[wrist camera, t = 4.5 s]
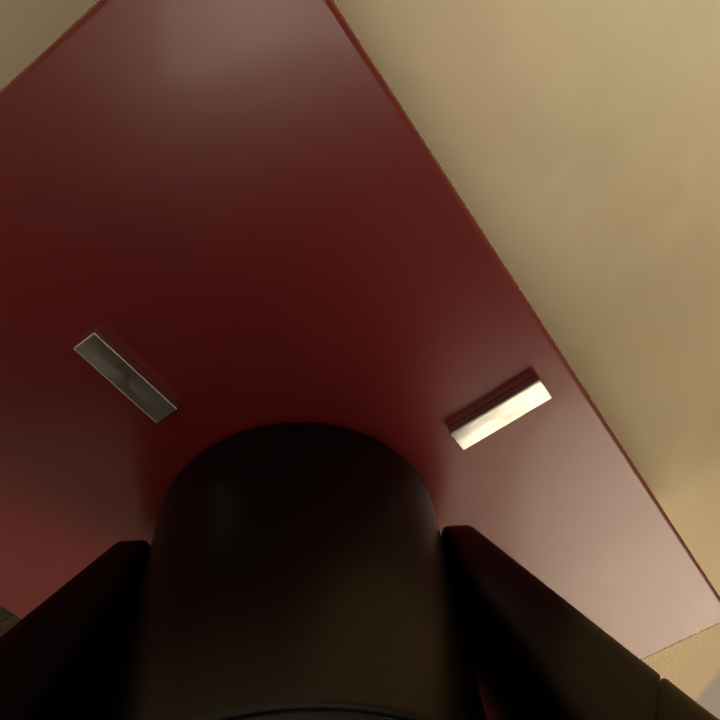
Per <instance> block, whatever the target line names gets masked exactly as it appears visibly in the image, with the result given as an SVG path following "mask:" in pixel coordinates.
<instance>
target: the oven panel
mask: <svg viewBox="0 0 720 720" xmlns="http://www.w3.org/2000/svg"><path fill="white" fill-rule="evenodd" d="M289 422H313V423H323V424H330V425H336V426H340V427H344V428H348V429H352V430H355V431H357V432H360V433H363V434H365V435H368V436H370V437H372V438H374V439H376V440H378V441H380V442H382V443H384V444H385V445H387V446H388V447H390V448H391V449H393V450H394V451H395V452H397V453H398V454H400V455H401V456H402V457H403V458H404V459H405V460H406V461H407V462H408V463H409V464H410V465H411V466H412V467H413V468H414V469H415V471H416V472H417V473H418V474H419V476H420V477H421V478H422V480H423V482H424V484H425V485H426V487H427V489H428V491H429V494H430V497H431V499H432V502H433V506H434V510H435V514H436V518H437V522H438V526H439V530H440V534H441V533H442V530H443V528H444V527H446V526H458V525H470V526H472V527H473V528H475V529H476V530H477V531H479V532H480V533H481V534H482V535H484V536H485V537H486V538H488V539H489V540H490V541H491V542H493V543H494V544H495V545H496V546H498V547H499V548H500V549H501V550H503V551H504V552H505V553H506V554H508V555H509V556H510V557H512V558H513V559H514V560H515V561H517V562H518V563H519V564H520V565H522V566H523V567H524V568H525V569H527V570H528V571H529V572H530V573H532V574H533V575H534V576H536V577H537V578H538V579H539V580H541V581H542V582H543V583H544V584H546V585H547V586H548V587H549V588H551V589H552V590H553V591H555V592H556V593H557V594H558V595H560V596H561V597H562V598H563V599H565V600H566V601H567V602H568V603H570V604H571V605H572V606H573V607H575V608H576V609H577V610H579V611H580V612H581V613H582V614H584V615H585V616H586V617H587V618H589V619H590V620H591V621H592V622H594V623H595V624H596V625H597V626H599V627H600V628H601V629H603V630H604V631H605V632H606V633H608V634H609V635H610V636H611V637H613V638H614V639H615V640H616V641H618V642H619V643H620V644H621V645H623V646H624V647H625V648H627V649H628V650H629V651H630V652H632V653H633V654H634V655H635V656H637V657H638V658H639V659H640V660H642V659H644V658H646V657H648V656H650V655H652V654H654V653H656V652H659V651H661V650H663V649H665V648H667V647H669V646H671V645H674V644H676V643H678V642H680V641H682V640H684V639H686V638H689V637H691V636H693V635H695V634H697V633H699V632H701V631H703V630H706V629H708V628H710V627H712V626H714V625H716V624H718V623H720V597H719V595H718V594H717V592H716V591H715V589H714V588H713V586H712V585H711V583H710V581H709V580H708V578H707V577H706V575H705V574H704V572H703V571H702V569H701V568H700V566H699V565H698V563H697V561H696V560H695V558H694V557H693V555H692V554H691V552H690V551H689V549H688V548H687V546H686V545H685V543H684V541H683V540H682V538H681V537H680V535H679V534H678V532H677V531H676V529H675V528H674V526H673V524H672V523H671V521H670V520H669V518H668V517H667V515H666V514H665V512H664V511H663V509H662V508H661V506H660V504H659V503H658V501H657V500H656V498H655V497H654V495H653V494H652V492H651V491H650V489H649V488H648V486H647V484H646V483H645V481H644V480H643V478H642V477H641V475H640V474H639V472H638V471H637V469H636V467H635V466H634V464H633V463H632V461H631V460H630V458H629V457H628V455H627V454H626V452H625V451H624V449H623V447H622V446H621V444H620V443H619V441H618V440H617V438H616V437H615V435H614V434H613V432H612V431H611V429H610V427H609V426H608V424H607V423H606V421H605V420H604V418H603V417H602V415H601V414H600V412H599V411H598V409H597V407H596V406H595V404H594V403H593V401H592V400H591V398H590V397H589V395H588V394H587V392H586V390H585V389H584V387H583V386H582V384H581V383H580V381H579V380H578V378H577V377H576V375H575V374H574V372H573V370H572V369H571V367H570V366H569V364H568V363H567V361H566V360H565V358H564V357H563V355H562V354H561V352H560V350H559V349H558V347H557V346H556V344H555V343H554V341H553V340H552V338H551V337H550V335H549V333H548V332H547V330H546V329H545V327H544V326H543V324H542V323H541V321H540V320H539V318H538V317H537V315H536V313H535V312H534V310H533V309H532V307H531V306H530V304H529V303H528V301H527V300H526V298H525V297H524V295H523V293H522V292H521V290H520V289H519V287H518V286H517V284H516V283H515V281H514V280H513V278H512V276H511V275H510V273H509V272H508V270H507V269H506V267H505V266H504V264H503V263H502V261H501V260H500V258H499V256H498V255H497V253H496V252H495V250H494V249H493V247H492V246H491V244H490V243H489V241H488V240H487V238H486V236H485V235H484V233H483V232H482V230H481V229H480V227H479V226H478V224H477V223H476V221H475V220H474V218H473V216H472V215H471V213H470V212H469V210H468V209H467V207H466V206H465V204H464V203H463V201H462V199H461V198H460V196H459V195H458V193H457V192H456V190H455V189H454V187H453V186H452V184H451V183H450V181H449V179H448V178H447V176H446V175H445V173H444V172H443V170H442V169H441V167H440V166H439V164H438V163H437V161H436V159H435V158H434V156H433V155H432V153H431V152H430V150H429V149H428V147H427V146H426V144H425V142H424V141H423V139H422V138H421V136H420V135H419V133H418V132H417V130H416V129H415V127H414V126H413V124H412V122H411V121H410V119H409V118H408V116H407V115H406V113H405V112H404V110H403V109H402V107H401V106H400V104H399V102H398V101H397V99H396V98H395V96H394V95H393V93H392V92H391V90H390V89H389V87H388V85H387V84H386V82H385V81H384V79H383V78H382V76H381V75H380V73H379V72H378V70H377V69H376V67H375V65H374V64H373V62H372V61H371V59H370V58H369V56H368V55H367V53H366V52H365V50H364V49H363V47H362V45H361V44H360V42H359V41H358V39H357V38H356V36H355V35H354V33H353V32H352V30H351V29H350V27H349V25H348V24H347V22H346V21H345V19H344V18H343V16H342V15H341V13H340V12H339V10H338V8H337V7H336V5H335V4H334V2H333V1H332V0H99V1H98V2H97V3H96V4H95V5H94V6H93V7H91V8H90V9H89V10H88V11H87V12H86V13H85V14H84V15H83V16H82V17H81V18H80V19H78V20H77V21H76V22H75V23H74V24H73V25H72V26H71V27H70V28H69V29H68V30H67V31H65V32H64V33H63V34H62V35H61V36H60V37H59V38H58V39H57V40H56V41H55V42H53V43H52V44H51V45H50V46H49V47H48V48H47V49H46V50H45V51H44V52H43V53H42V54H40V55H39V56H38V57H37V58H36V59H35V60H34V61H33V62H32V63H31V64H30V65H29V66H27V67H26V68H25V69H24V70H23V71H22V72H21V73H20V74H19V75H18V76H17V77H16V78H14V79H13V80H12V81H11V82H10V83H9V84H8V85H7V86H6V87H5V88H4V89H2V90H1V91H0V606H1V607H3V608H5V609H6V610H8V611H9V612H11V613H13V614H14V615H16V616H17V617H19V618H20V619H23V618H24V617H25V616H26V615H28V614H29V613H30V612H31V611H32V610H34V609H35V608H36V607H37V606H39V605H40V604H41V603H42V602H44V601H45V600H46V599H47V598H49V597H50V596H51V595H52V594H54V593H55V592H56V591H57V590H58V589H60V588H61V587H62V586H63V585H65V584H66V583H67V582H68V581H70V580H71V579H72V578H73V577H75V576H76V575H77V574H78V573H80V572H81V571H82V570H83V569H84V568H86V567H87V566H88V565H89V564H91V563H92V562H93V561H94V560H96V559H97V558H98V557H99V556H101V555H102V554H103V553H104V552H105V551H107V550H108V549H109V548H110V547H112V546H113V545H114V544H116V543H118V542H119V541H132V540H145V541H147V542H148V543H149V545H150V546H151V542H152V538H153V535H154V531H155V527H156V523H157V519H158V515H159V512H160V508H161V505H162V502H163V499H164V497H165V495H166V493H167V491H168V489H169V487H170V485H171V484H172V482H173V481H174V479H175V478H176V477H177V475H178V474H179V473H180V472H181V471H182V470H183V469H184V468H185V467H186V465H187V464H188V463H189V462H190V461H192V460H193V459H194V458H195V457H197V456H198V455H199V454H200V453H202V452H203V451H204V450H206V449H207V448H209V447H211V446H212V445H214V444H216V443H217V442H219V441H221V440H223V439H225V438H227V437H230V436H232V435H234V434H237V433H239V432H242V431H246V430H249V429H252V428H256V427H260V426H265V425H271V424H276V423H289Z"/></svg>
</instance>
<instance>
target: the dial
mask: <svg viewBox="0 0 720 720" xmlns="http://www.w3.org/2000/svg"><path fill="white" fill-rule="evenodd" d="M105 720H486V716H485V712H484V708H483V704H482V699H481V695H480V691H479V687H478V683H477V679H476V675H475V671H474V667H473V663H472V659H471V655H470V651H469V647H468V643H467V639H466V635H465V631H464V627H463V623H462V619H461V615H460V611H459V607H458V603H457V599H456V595H455V590H454V586H453V582H452V578H451V574H450V570H449V566H448V562H447V558H446V554H445V550H444V546H443V542H442V538H441V534H440V530H439V526H438V522H437V518H436V514H435V510H434V506H433V502H432V499H431V497H430V494H429V491H428V489H427V487H426V485H425V484H424V482H423V480H422V478H421V477H420V476H419V474H418V473H417V472H416V471H415V469H414V468H413V467H412V466H411V465H410V464H409V463H408V462H407V461H406V460H405V459H404V458H403V457H402V456H401V455H400V454H398V453H397V452H395V451H394V450H393V449H391V448H390V447H388V446H387V445H385V444H384V443H382V442H380V441H378V440H376V439H374V438H372V437H370V436H368V435H365V434H363V433H360V432H357V431H355V430H352V429H348V428H344V427H340V426H336V425H330V424H323V423H313V422H289V423H276V424H271V425H265V426H260V427H256V428H252V429H249V430H246V431H242V432H239V433H237V434H234V435H232V436H230V437H227V438H225V439H223V440H221V441H219V442H217V443H216V444H214V445H212V446H211V447H209V448H207V449H206V450H204V451H203V452H202V453H200V454H199V455H198V456H197V457H195V458H194V459H193V460H192V461H190V462H189V463H188V464H187V465H186V467H185V468H184V469H183V470H182V471H181V472H180V473H179V474H178V475H177V477H176V478H175V479H174V481H173V482H172V484H171V485H170V487H169V489H168V491H167V493H166V495H165V497H164V499H163V502H162V505H161V508H160V512H159V515H158V519H157V523H156V527H155V531H154V535H153V538H152V542H151V546H150V550H149V554H148V557H147V561H146V565H145V569H144V573H143V577H142V580H141V584H140V588H139V592H138V596H137V600H136V603H135V607H134V611H133V615H132V619H131V622H130V626H129V630H128V634H127V638H126V642H125V645H124V649H123V653H122V657H121V661H120V665H119V668H118V672H117V676H116V680H115V684H114V687H113V691H112V695H111V699H110V703H109V707H108V710H107V714H106V718H105Z"/></svg>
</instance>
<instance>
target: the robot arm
mask: <svg viewBox="0 0 720 720" xmlns="http://www.w3.org/2000/svg"><path fill="white" fill-rule="evenodd" d="M441 538H442V542H443V546H444V550H445V554H446V558H447V562H448V566H449V570H450V574H451V578H452V582H453V586H454V590H455V595H456V599H457V603H458V607H459V611H460V615H461V619H462V623H463V627H464V631H465V635H466V639H467V643H468V647H469V651H470V655H471V659H472V663H473V667H474V671H475V675H476V679H477V683H478V687H479V691H480V695H481V699H482V704H483V708H484V712H485V716H486V720H719V719H718V718H716V717H715V716H714V715H712V714H711V713H710V712H708V711H707V710H706V709H704V708H703V707H702V706H700V705H699V704H698V703H697V702H695V701H694V700H693V699H691V698H690V697H689V696H688V695H686V694H685V693H684V692H682V691H681V690H680V689H679V688H677V687H676V686H675V685H674V684H672V683H671V682H670V681H669V680H667V679H665V678H663V679H661V681H660V675H659V674H658V673H657V672H656V671H654V670H653V669H652V668H651V667H649V666H648V665H647V664H646V663H644V662H643V661H642V660H640V659H639V658H638V657H637V656H635V655H634V654H633V653H632V652H630V651H629V650H628V649H627V648H625V647H624V646H623V645H621V644H620V643H619V642H618V641H616V640H615V639H614V638H613V637H611V636H610V635H609V634H608V633H606V632H605V631H604V630H603V629H601V628H600V627H599V626H597V625H596V624H595V623H594V622H592V621H591V620H590V619H589V618H587V617H586V616H585V615H584V614H582V613H581V612H580V611H579V610H577V609H576V608H575V607H573V606H572V605H571V604H570V603H568V602H567V601H566V600H565V599H563V598H562V597H561V596H560V595H558V594H557V593H556V592H555V591H553V590H552V589H551V588H549V587H548V586H547V585H546V584H544V583H543V582H542V581H541V580H539V579H538V578H537V577H536V576H534V575H533V574H532V573H530V572H529V571H528V570H527V569H525V568H524V567H523V566H522V565H520V564H519V563H518V562H517V561H515V560H514V559H513V558H512V557H510V556H509V555H508V554H506V553H505V552H504V551H503V550H501V549H500V548H499V547H498V546H496V545H495V544H494V543H493V542H491V541H490V540H489V539H488V538H486V537H485V536H484V535H482V534H481V533H480V532H479V531H477V530H476V529H475V528H473V527H472V526H470V525H458V526H446V527H444V528H443V530H442V533H441ZM149 550H150V545H149V543H148V542H147V541H145V540H132V541H119V542H118V543H116V544H114V545H113V546H112V547H110V548H109V549H108V550H107V551H105V552H104V553H103V554H102V555H101V556H99V557H98V558H97V559H96V560H94V561H93V562H92V563H91V564H89V565H88V566H87V567H86V568H84V569H83V570H82V571H81V572H80V573H78V574H77V575H76V576H75V577H73V578H72V579H71V580H70V581H68V582H67V583H66V584H65V585H63V586H62V587H61V588H60V589H58V590H57V591H56V592H55V593H54V594H52V595H51V596H50V597H49V598H47V599H46V600H45V601H44V602H42V603H41V604H40V605H39V606H37V607H36V608H35V609H34V610H32V611H31V612H30V613H29V614H28V615H26V616H25V617H24V618H23V619H21V620H20V621H19V622H18V623H16V624H15V625H14V626H13V627H11V628H10V629H9V630H8V631H7V632H5V633H4V634H3V635H2V636H0V720H105V718H106V714H107V710H108V707H109V703H110V699H111V695H112V691H113V687H114V684H115V680H116V676H117V672H118V668H119V665H120V661H121V657H122V653H123V649H124V645H125V642H126V638H127V634H128V630H129V626H130V622H131V619H132V615H133V611H134V607H135V603H136V600H137V596H138V592H139V588H140V584H141V580H142V577H143V573H144V569H145V565H146V561H147V557H148V554H149Z"/></svg>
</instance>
